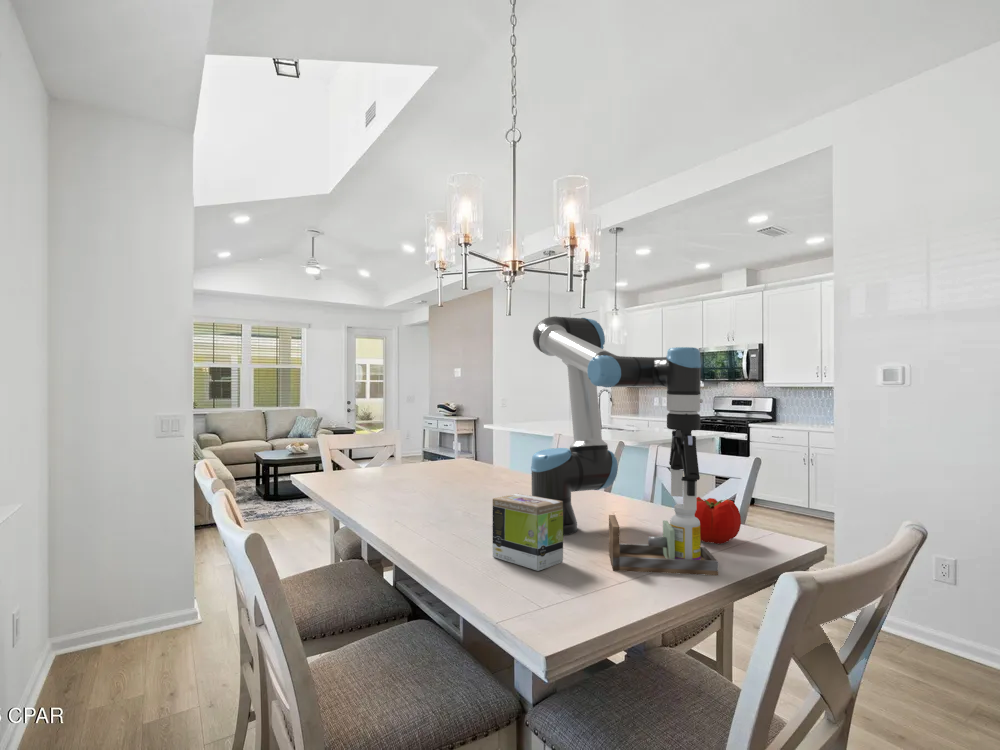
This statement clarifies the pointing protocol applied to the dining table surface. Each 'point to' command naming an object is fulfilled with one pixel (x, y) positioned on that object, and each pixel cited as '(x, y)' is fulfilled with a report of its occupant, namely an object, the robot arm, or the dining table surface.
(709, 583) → the dining table surface
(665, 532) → the pusher
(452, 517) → the dining table surface
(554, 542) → the tea box
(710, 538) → the tomato
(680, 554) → the supplement bottle
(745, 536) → the dining table surface
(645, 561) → the lane
